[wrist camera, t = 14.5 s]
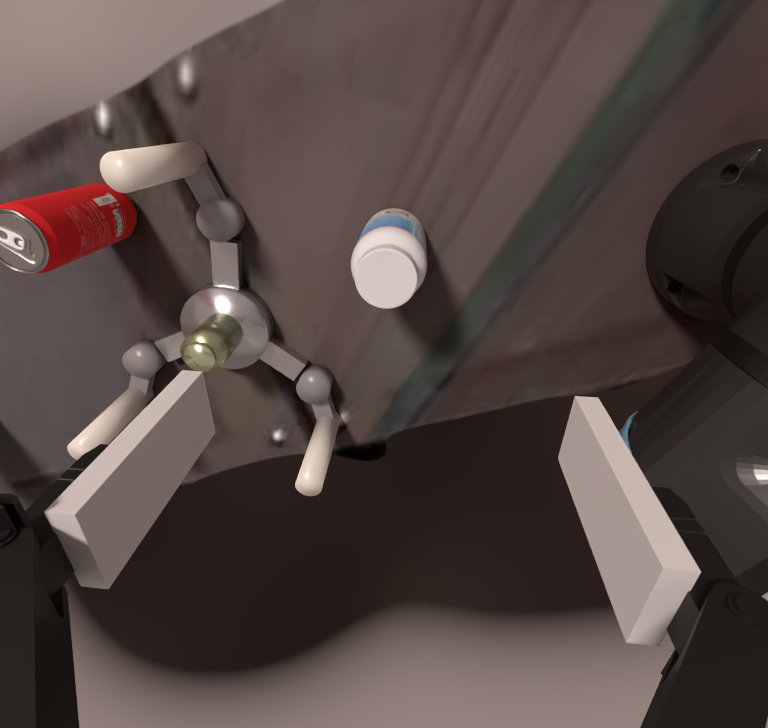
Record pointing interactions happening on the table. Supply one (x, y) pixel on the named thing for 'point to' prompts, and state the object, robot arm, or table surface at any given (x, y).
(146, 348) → the knob
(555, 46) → the table surface
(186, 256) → the table surface
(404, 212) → the pill bottle
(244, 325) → the levelling base
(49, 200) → the beverage can
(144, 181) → the white lever handle
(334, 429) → the knob
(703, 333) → the table surface
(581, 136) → the table surface
